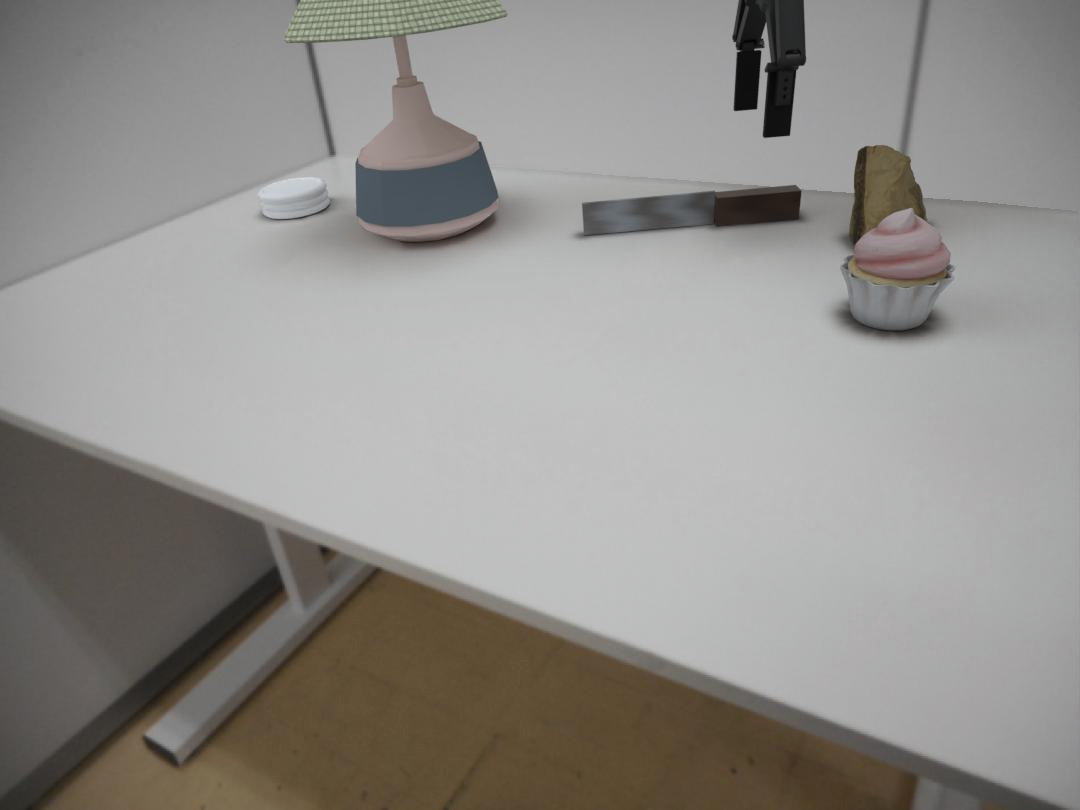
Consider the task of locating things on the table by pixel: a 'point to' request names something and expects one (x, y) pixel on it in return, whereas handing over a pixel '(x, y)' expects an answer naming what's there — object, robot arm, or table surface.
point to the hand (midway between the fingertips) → (759, 122)
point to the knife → (692, 210)
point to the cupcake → (897, 272)
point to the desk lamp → (410, 123)
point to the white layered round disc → (294, 198)
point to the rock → (882, 189)
